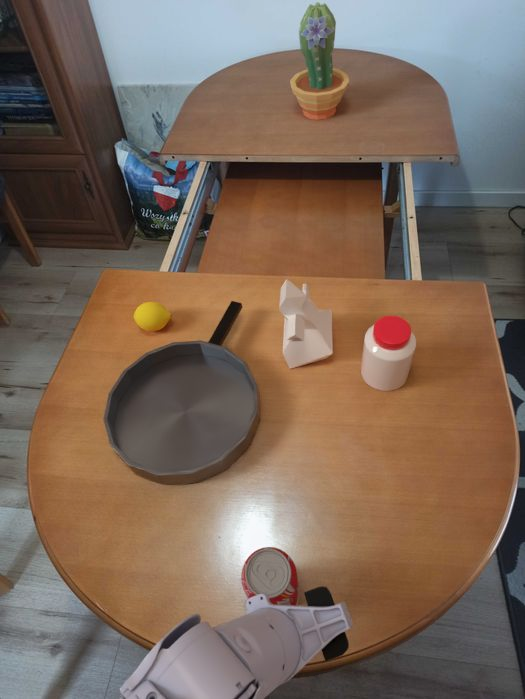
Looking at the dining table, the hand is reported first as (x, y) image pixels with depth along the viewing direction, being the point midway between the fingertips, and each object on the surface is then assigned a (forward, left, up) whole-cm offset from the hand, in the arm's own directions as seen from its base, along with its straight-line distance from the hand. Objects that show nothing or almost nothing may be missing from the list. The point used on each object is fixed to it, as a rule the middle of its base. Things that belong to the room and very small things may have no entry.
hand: (298, 626), depth 51 cm
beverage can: (+4, +5, -11) cm, 13 cm away
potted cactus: (+120, +36, -11) cm, 125 cm away
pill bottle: (+42, 0, -11) cm, 43 cm away
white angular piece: (+44, +14, -11) cm, 47 cm away
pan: (+29, +28, -11) cm, 41 cm away
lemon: (+39, +42, -11) cm, 58 cm away
